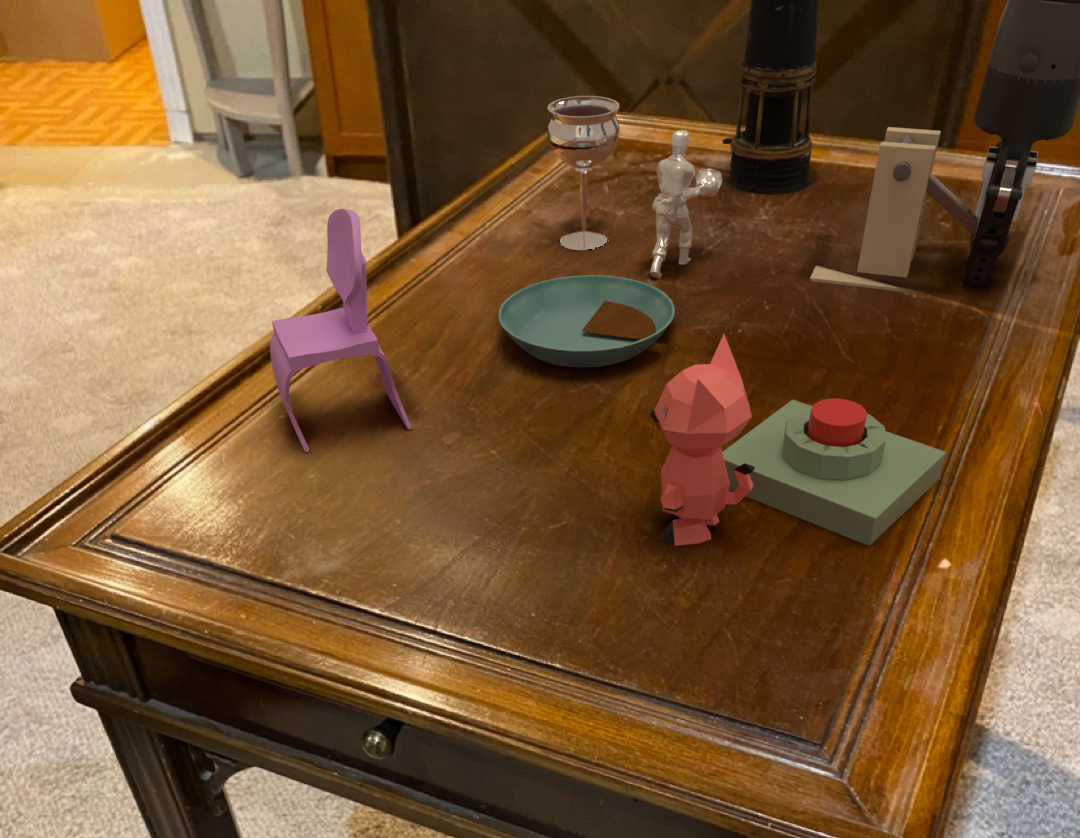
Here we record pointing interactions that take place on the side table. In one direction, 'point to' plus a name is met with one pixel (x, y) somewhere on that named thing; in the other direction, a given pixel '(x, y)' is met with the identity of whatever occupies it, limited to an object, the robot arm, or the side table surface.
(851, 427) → the button
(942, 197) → the lever
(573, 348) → the saucer
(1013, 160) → the robot arm
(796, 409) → the button block
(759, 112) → the lantern
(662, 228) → the figurine
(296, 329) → the toy chair
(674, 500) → the cat figurine
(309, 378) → the side table surface
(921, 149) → the bracket
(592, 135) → the wineglass
